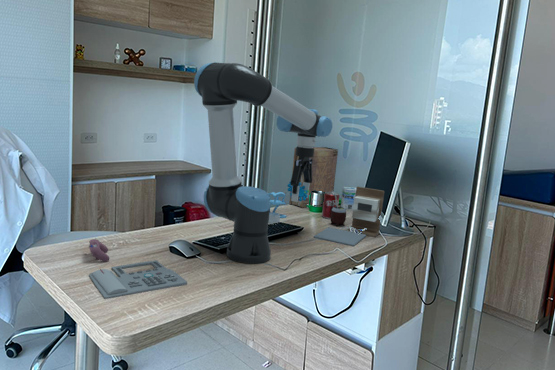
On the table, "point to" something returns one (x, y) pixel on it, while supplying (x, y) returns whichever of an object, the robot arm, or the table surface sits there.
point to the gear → (301, 192)
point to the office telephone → (135, 279)
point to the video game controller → (98, 250)
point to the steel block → (274, 218)
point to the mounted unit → (367, 210)
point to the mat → (340, 236)
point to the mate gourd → (338, 214)
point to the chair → (277, 201)
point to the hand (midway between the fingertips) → (299, 199)
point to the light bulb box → (348, 197)
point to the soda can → (329, 204)
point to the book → (319, 172)
